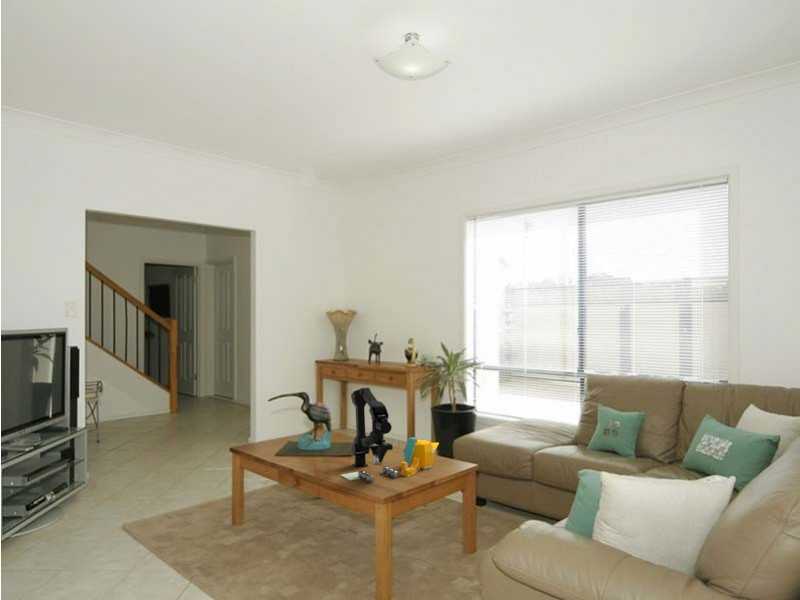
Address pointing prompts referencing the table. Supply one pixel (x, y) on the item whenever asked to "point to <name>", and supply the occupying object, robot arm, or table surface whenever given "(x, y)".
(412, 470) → the pipe clamp
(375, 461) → the stepped steel cylinder
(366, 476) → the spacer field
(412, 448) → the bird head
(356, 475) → the sage mat
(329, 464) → the table surface
